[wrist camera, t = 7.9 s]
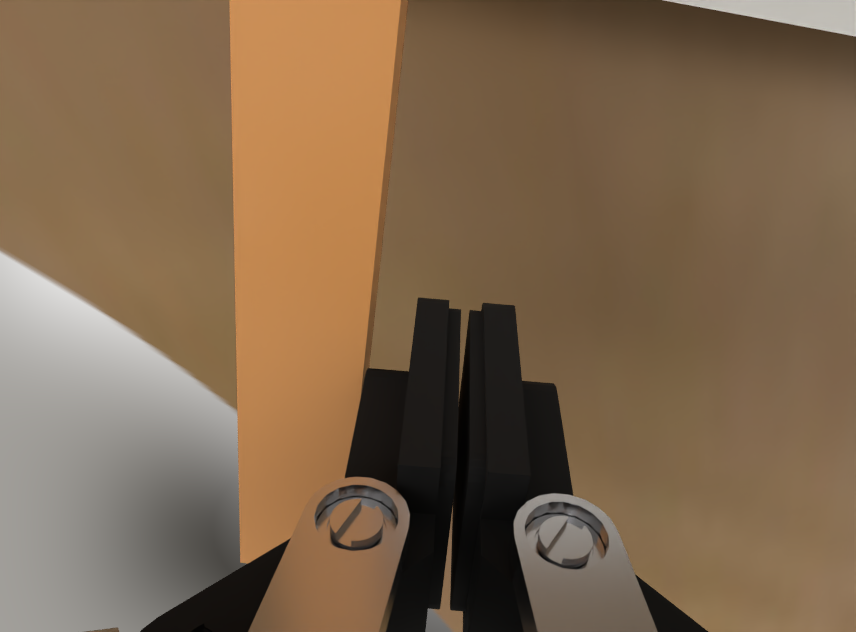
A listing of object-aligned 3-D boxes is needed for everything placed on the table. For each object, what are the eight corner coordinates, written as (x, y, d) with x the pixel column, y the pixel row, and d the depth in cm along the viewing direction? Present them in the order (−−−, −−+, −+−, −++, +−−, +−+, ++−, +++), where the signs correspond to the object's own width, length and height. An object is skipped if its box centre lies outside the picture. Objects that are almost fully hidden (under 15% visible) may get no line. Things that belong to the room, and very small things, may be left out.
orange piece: (357, -534, 12) (177, -1148, 5) (497, -509, 12) (541, -1077, 5) (313, 314, 21) (230, 561, 14) (393, 325, 22) (352, 576, 14)
